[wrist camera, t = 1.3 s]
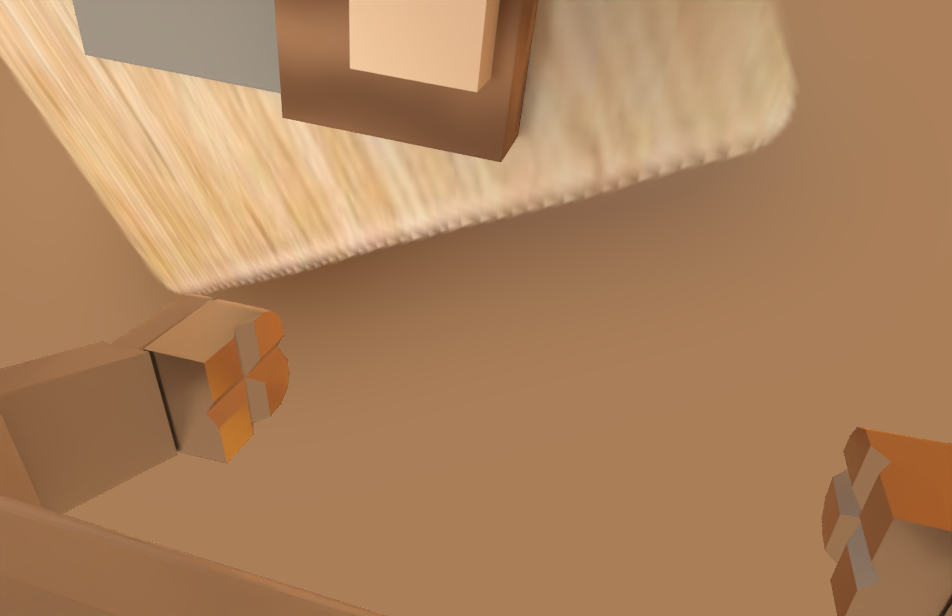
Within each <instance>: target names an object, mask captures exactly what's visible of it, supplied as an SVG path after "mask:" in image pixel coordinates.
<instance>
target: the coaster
mask: <svg viewBox="0 0 952 616" xmlns="http://www.w3.org/2000/svg"><path fill="white" fill-rule="evenodd" d="M499 3H500V0H349V37H350V69H355V70H360V71H366V72H371V73H376V74H382V75H387V76H392V77H398V78H403V79H408V80H414V81H419V82H424V83H430V84H435V85H440V86H446V87H451V88H456V89H462V90H467V91H472V92H478V91H479V90H480V89H481V88H482V87H483V86H484V85H485V84H486V83H487V82H488V81H489V79H490V78H491V74H492V65H493V56H494V47H495V39H496V30H497V21H498V12H499Z"/></svg>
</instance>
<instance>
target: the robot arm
mask: <svg viewBox="0 0 952 616" xmlns="http://www.w3.org/2000/svg"><path fill="white" fill-rule="evenodd" d="M283 337H284V332H283V327H282V322H281V318H280V317H279V316H278V315H277V314H276V313H275V312H273V311H271V310H266V309H261V308H257V307H252V306H248V305H244V304H239V303H234V302H230V301H225V300H221V299H219V300H218V299H215V298H211V297H206V296H201V295H196V294H187V295H182V296H180V297H179V298H178V299H176V300H174V301H173V302H171V303H170V304H169V305H167V306H165V307H164V308H163V309H161V310H160V311H158V312H157V313H155V314H154V315H152V316H151V317H149V318H148V319H146V320H145V321H143V322H142V323H140V324H139V325H137V326H136V327H134V328H133V329H131V330H130V331H128V332H127V333H125V334H124V335H122V336H121V337H119V338H118V339H116V340H115V341H113V342H112V343H108V342H104V341H102V342H98V343H95V344H91V345H87V346H83V347H79V348H76V349H72V350H69V351H65V352H61V353H57V354H54V355H50V356H46V357H42V358H39V359H35V360H31V361H28V362H24V363H20V364H16V365H13V366H9V367H5V368H1V369H0V616H387V615H384V614H381V613H377V612H374V611H371V610H368V609H365V608H361V607H358V606H355V605H352V604H349V603H345V602H342V601H339V600H336V599H333V598H329V597H326V596H323V595H320V594H316V593H313V592H310V591H307V590H304V589H300V588H297V587H294V586H291V585H288V584H284V583H281V582H278V581H275V580H272V579H269V578H265V577H262V576H259V575H256V574H252V573H250V572H246V571H243V570H240V569H236V568H234V567H230V566H227V565H224V564H221V563H217V562H214V561H211V560H208V559H205V558H201V557H198V556H195V555H192V554H189V553H185V552H182V551H179V550H176V549H173V548H169V547H166V546H163V545H160V544H157V543H153V542H150V541H147V540H144V539H141V538H137V537H134V536H131V535H128V534H124V533H121V532H118V531H115V530H112V529H109V528H105V527H102V526H99V525H95V524H93V523H89V522H86V521H83V520H80V519H77V518H73V517H70V516H67V515H64V513H65V512H68V511H70V510H72V509H73V508H75V507H77V506H79V505H81V504H83V503H85V502H87V501H89V500H91V499H93V498H94V497H97V496H98V495H101V494H102V493H104V492H106V491H108V490H110V489H112V488H114V487H116V486H118V485H120V484H122V483H124V482H126V481H128V480H130V479H131V478H133V477H135V476H137V475H139V474H141V473H143V472H145V471H147V470H149V469H151V468H153V467H155V466H157V465H159V464H161V463H162V462H164V461H166V460H168V459H170V458H172V457H174V456H176V455H177V452H180V453H185V454H188V455H193V456H197V457H201V458H206V459H210V460H214V461H218V462H223V463H228V462H229V461H230V460H231V459H232V457H233V456H234V455H235V454H236V453H237V452H238V451H239V450H240V449H241V448H242V447H243V446H244V445H245V443H246V442H247V441H248V440H249V439H250V438H251V437H252V436H253V435H254V431H253V423H255V422H257V421H260V420H263V419H265V418H267V417H270V416H271V415H272V414H273V413H274V412H275V410H276V409H277V408H278V407H279V405H281V403H282V400H283V398H284V396H285V393H286V391H287V389H288V383H289V366H288V359H287V358H286V357H285V356H284V354H283V353H282V351H281V350H280V349H279V348H278V344H279V343H280V341H281V340H282V338H283ZM843 452H844V456H845V460H846V464H847V470H845V471H843V472H841V473H840V474H838V475H836V476H834V477H832V480H831V483H830V486H829V488H828V491H827V494H826V496H825V502H824V508H823V514H822V535H823V542H824V548H825V551H826V552H827V553H828V554H829V555H830V557H831V558H832V559H833V560H834V561H835V562H836V563H837V566H836V568H835V571H834V573H833V575H832V578H831V580H830V581H831V586H832V591H833V596H834V602H835V607H836V612H837V616H952V443H949V444H948V443H943V442H938V441H932V440H927V439H921V438H916V437H911V436H905V435H900V434H894V433H889V432H884V431H878V430H873V429H867V428H862V427H856V429H855V430H854V431H853V432H852V434H851V435H850V437H849V439H848V441H847V444H846V446H845V448H844V451H843Z"/></svg>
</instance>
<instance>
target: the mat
mask: <svg viewBox="0 0 952 616" xmlns="http://www.w3.org/2000/svg"><path fill="white" fill-rule="evenodd" d="M73 4H74V9H75V13H76V17H77V21H78V25H79V30H80V34H81V38H82V42H83V46H84V51H85V55H89V56H94V57H99V58H104V59H109V60H114V61H119V62H124V63H129V64H135V65H140V66H145V67H150V68H155V69H160V70H165V71H170V72H175V73H180V74H185V75H190V76H195V77H200V78H206V79H211V80H216V81H221V82H226V83H231V84H236V85H241V86H246V87H251V88H256V89H261V90H266V91H271V92H276V93H281V87H280V73H279V59H278V46H277V32H276V18H275V4H274V0H73Z"/></svg>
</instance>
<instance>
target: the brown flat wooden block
mask: <svg viewBox="0 0 952 616" xmlns="http://www.w3.org/2000/svg"><path fill="white" fill-rule="evenodd" d="M274 4H275V18H276V32H277V46H278V59H279V73H280V87H281V101H282V115H283V118H287V119H292V120H296V121H301V122H306V123H311V124H316V125H321V126H326V127H331V128H336V129H341V130H346V131H351V132H355V133H360V134H365V135H370V136H375V137H380V138H385V139H390V140H395V141H400V142H405V143H409V144H414V145H419V146H424V147H429V148H434V149H439V150H444V151H449V152H454V153H459V154H463V155H468V156H473V157H478V158H483V159H488V160H493V161H498V162H502V160H503V159H504V157H505V155H506V154H507V152H508V151H509V149H510V148H511V146H512V144H513V143H514V141H515V140H516V138H517V137H518V132H519V125H520V118H521V111H522V104H523V97H524V90H525V83H526V76H527V69H528V62H529V55H530V48H531V41H532V34H533V27H534V20H535V13H536V6H537V0H500V3H499V12H498V21H497V30H496V39H495V47H494V56H493V65H492V74H491V78H490V79H489V81H488V82H487V83H486V84H485V85H484V86H483V87H482V88H481V89H480V90H479V91H478V92H472V91H467V90H462V89H456V88H451V87H446V86H440V85H435V84H430V83H424V82H419V81H414V80H408V79H403V78H398V77H392V76H387V75H382V74H376V73H371V72H366V71H360V70H355V69H350V37H349V0H274Z"/></svg>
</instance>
